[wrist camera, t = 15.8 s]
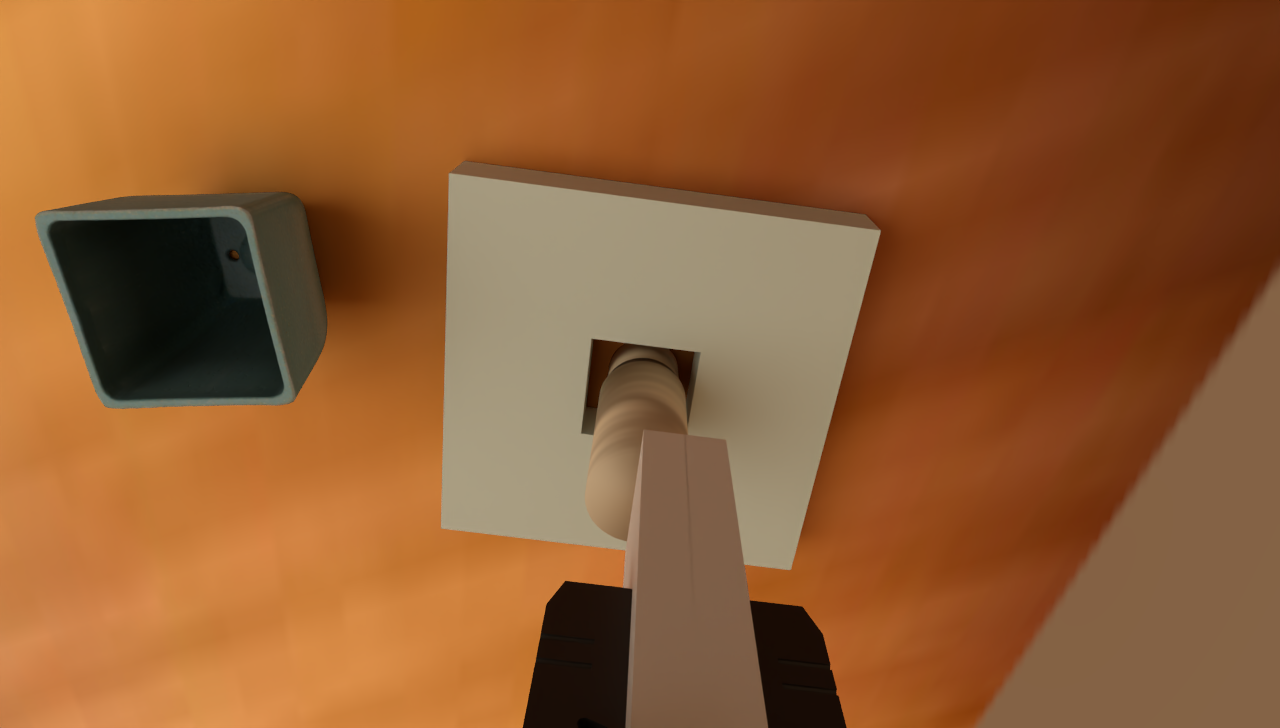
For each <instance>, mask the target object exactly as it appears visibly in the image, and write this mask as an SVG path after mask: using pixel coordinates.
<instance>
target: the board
mask: <svg viewBox="0 0 1280 728" xmlns="http://www.w3.org/2000/svg"><path fill="white" fill-rule="evenodd" d="M880 233H881V230H880V229H879V228H878V227H877V226H876V225H875V224H874V223H873V222H872V221H871V220H870V219H869V218H868V217H867V216H866V215H865V214H858V213H850V212H843V211H835V210H828V209H820V208H813V207H805V206H798V205H790V204H783V203H775V202H768V201H760V200H753V199H746V198H738V197H731V196H723V195H716V194H708V193H701V192H693V191H686V190H678V189H671V188H663V187H656V186H648V185H641V184H633V183H626V182H618V181H611V180H603V179H596V178H589V177H581V176H574V175H566V174H559V173H551V172H544V171H536V170H529V169H521V168H514V167H506V166H499V165H491V164H484V163H476V162H469V161H464V162H462V163H461V164H460V165H459V166H457V167H456V168H455V169H454V170H452V171H451V172H450V173H449V198H448V242H447V287H446V332H445V376H444V421H443V466H442V510H441V528H442V529H451V530H459V531H467V532H476V533H484V534H493V535H501V536H509V537H518V538H526V539H535V540H543V541H551V542H560V543H568V544H576V545H585V546H593V547H602V548H610V549H618V550H626V544H627V541H623V540H620V539H617V538H614V537H612V536H610V535H608V534H607V533H605V532H604V531H602V530H601V529H600V528H599V527H598V526H597V525H596V524H595V523H594V522H593V520H592V519H591V517H590V516H589V513H588V511H587V508H586V504H585V490H586V483H587V476H588V470H589V463H590V456H591V449H592V442H593V436H594V429H595V422H596V415H597V408H592V407H586V403H587V394H588V385H589V376H590V367H591V358H592V349H593V340H594V339H599V340H606V341H614V342H622V343H630V344H638V345H646V346H654V347H661V348H669V349H677V350H685V351H693V352H694V358H693V363H692V369H691V375H690V381H689V387H688V392H687V398H686V412H687V427H688V435H692V436H700V437H708V438H716V439H724V440H726V443H727V450H728V456H729V463H730V470H731V477H732V484H733V491H734V498H735V504H736V511H737V518H738V525H739V532H740V539H741V545H742V552H743V559H744V565H753V566H761V567H769V568H778V569H786V570H791V567H792V563H793V560H794V556H795V552H796V548H797V545H798V541H799V537H800V533H801V530H802V526H803V522H804V518H805V515H806V511H807V507H808V503H809V499H810V496H811V492H812V488H813V484H814V481H815V477H816V473H817V469H818V466H819V462H820V458H821V454H822V451H823V447H824V443H825V439H826V436H827V432H828V428H829V424H830V421H831V417H832V413H833V409H834V405H835V402H836V398H837V394H838V390H839V387H840V383H841V379H842V375H843V372H844V368H845V364H846V360H847V357H848V353H849V349H850V345H851V342H852V338H853V334H854V330H855V327H856V323H857V319H858V315H859V312H860V308H861V304H862V300H863V296H864V293H865V289H866V285H867V281H868V278H869V274H870V270H871V266H872V263H873V259H874V255H875V251H876V248H877V244H878V240H879V236H880Z"/></svg>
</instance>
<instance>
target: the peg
mask: <svg viewBox="0 0 1280 728" xmlns="http://www.w3.org/2000/svg"><path fill="white" fill-rule="evenodd" d="M643 430H652V431H660V432H668V433H676V434H684V435H688V427H687V412H686V397H685V391H684V388H683V385H682V383H681V382H680V380H679V376H678V364H677V361H676V358H675V357H674V355H673V353H672V352H671V351H670V350H669V349H668V348H661V347H654V346H646V345H638V344H630V343H625V344H624V345H622V346H621V347H620V348H619V349H618V350H617V351H616V352H615V353H614V355H613V356H612V358H611V361H610V365H609V372H608V376H607V378H606V379H605V381H604V382H603V384H602V387H601V390H600V395H599V402H598V408H597V415H596V422H595V429H594V436H593V442H592V449H591V456H590V463H589V470H588V476H587V483H586V490H585V504H586V508H587V511H588V513H589V516H590V517H591V519H592V520H593V522H594V523H595V524H596V525H597V526H598V527H599V528H600V529H601V530H602V531H604V532H605V533H607V534H608V535H610V536H612V537H614V538H617V539H620V540H623V541H627V538H628V531H629V524H630V518H631V511H632V504H633V497H634V491H635V484H636V477H637V471H638V464H639V457H640V451H641V444H642V437H643Z"/></svg>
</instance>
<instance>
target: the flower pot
mask: <svg viewBox="0 0 1280 728" xmlns="http://www.w3.org/2000/svg"><path fill="white" fill-rule="evenodd" d="M35 221H36V228H37V232H38V235H39V238H40V241H41V244H42V246H43V249H44V252H45V254H46V257H47V260H48V262H49V265H50V267H51V269H52V272H53V275H54V277H55V280H56V282H57V286H58V288H59V290H60V293H61V295H62V298H63V301H64V304H65V306H66V309H67V312H68V314H69V317H70V320H71V322H72V325H73V328H74V331H75V335H76V337H77V339H78V343H79V346H80V349H81V353H82V355H83V358H84V360H85V363H86V366H87V369H88V371H89V375H90V378H91V380H92V383H93V386H94V388H95V392H96V393H97V395H98V397H99V399H100V400H101V402H102V403H103V404H104V406H105V407H108V408H120V409H126V408H153V407H178V406H215V405H216V406H219V405H284V404H289V403H291V402H293V401H294V400H295V398H296V396H297V395H298V393H299V391H300V389H301V388H302V386H303V384H304V383H305V381H306V379H307V377H308V376H309V374H310V372H311V370H312V369H313V367H314V365H315V363H316V362H317V360H318V358H319V356H320V354H321V352H322V349H323V347H324V344H325V339H326V334H327V313H326V306H325V300H324V295H323V291H322V287H321V283H320V278H319V273H318V269H317V264H316V260H315V255H314V250H313V245H312V241H311V236H310V231H309V227H308V221H307V216H306V212H305V208H304V205H303V203H302V201H301V200H300V199H299V198H298V197H297V196H295V195H293V194H291V193H287V192H262V193H231V194H197V195H151V196H128V197H119V198H114V199H108V200H102V201H97V202H91V203H85V204H80V205H74V206H69V207H64V208H58V209H53V210H47V211H42V212H39V213H38V214H37V215H36V216H35ZM231 250H235V251H236V252H237V253H238V255H239V259H237V260H234V259H232V258H231V257H230V255H229V253H230V251H231Z"/></svg>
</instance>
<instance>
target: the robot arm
mask: <svg viewBox="0 0 1280 728" xmlns="http://www.w3.org/2000/svg"><path fill="white" fill-rule="evenodd" d="M836 690H837V688H836V685H835V681H834V677H833V673H832V670H830V661H829V657H828V653H827V649H826V645H825V641H824V637H823V634H822V633H821V631H820V630H819V629H818V627H817V626H816V624H815V623H814V622H813V620H812V619H811V618H810V616H809V615H808V614H807V612H806V611H805V610H804V608H803V607H801V606H792V605H784V604H775V603H767V602H758V601H750V600H749V593H748V586H747V580H746V573H745V566H744V559H743V552H742V545H741V539H740V532H739V525H738V518H737V511H736V504H735V498H734V491H733V484H732V477H731V470H730V463H729V456H728V450H727V443H726V440H724V439H716V438H708V437H700V436H692V435H684V434H676V433H668V432H660V431H652V430H643V437H642V444H641V451H640V457H639V464H638V471H637V477H636V484H635V491H634V497H633V504H632V511H631V518H630V524H629V531H628V538H627V544H626V552H625V567H624V582H623V588H621V587H612V586H604V585H595V584H587V583H578V582H570V581H565V582H564V583H563V585H562V586H561V587H560V588H559V590H558V591H557V592H556V593H555V594H554V596H553V597H552V598H551V599H550V601H549V602H548V603H547V605H546V610H545V615H544V620H543V625H542V631H541V637H540V641H539V646H538V652H537V657H536V663H535V667H534V672H533V678H532V683H531V688H530V693H529V698H528V704H527V709H526V714H525V719H524V725H523V728H846V724H845V720H844V716H843V712H842V708H841V704H840V700H839V696H837V695H836Z"/></svg>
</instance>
